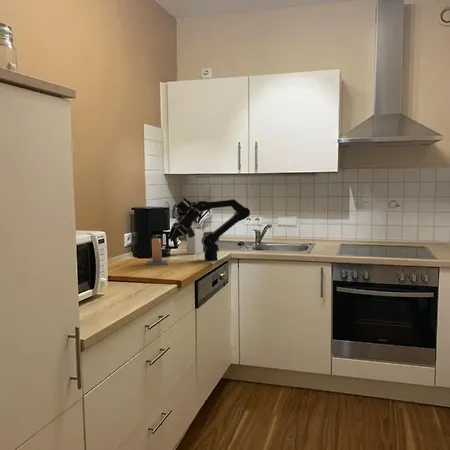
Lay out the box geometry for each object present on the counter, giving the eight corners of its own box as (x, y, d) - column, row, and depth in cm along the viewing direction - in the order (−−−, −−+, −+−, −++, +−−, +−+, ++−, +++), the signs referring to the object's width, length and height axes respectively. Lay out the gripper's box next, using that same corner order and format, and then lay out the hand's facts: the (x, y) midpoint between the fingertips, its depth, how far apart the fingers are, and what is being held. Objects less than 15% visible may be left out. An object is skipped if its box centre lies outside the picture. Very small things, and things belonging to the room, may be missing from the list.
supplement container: (209, 249, 308) (209, 231, 307) (222, 250, 302) (222, 231, 301) (199, 251, 299) (199, 232, 298) (213, 252, 293) (212, 233, 292)
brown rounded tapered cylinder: (163, 261, 255) (162, 238, 254) (158, 262, 251) (157, 239, 250) (155, 260, 257) (154, 238, 256) (150, 262, 253) (149, 239, 252)
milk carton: (194, 252, 294) (193, 222, 293) (203, 253, 290) (202, 222, 288) (186, 253, 289) (185, 223, 287) (195, 254, 284) (194, 223, 283)
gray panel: (167, 261, 260) (167, 259, 260) (167, 264, 249) (167, 263, 249) (147, 262, 259) (147, 260, 259) (146, 265, 248) (146, 263, 248)
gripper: (203, 230, 250) (183, 251, 248) (195, 227, 268) (177, 247, 266) (188, 216, 247) (168, 237, 245) (181, 214, 265) (162, 234, 263)
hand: (169, 239), depth 255 cm, fingers open, 9 cm apart
